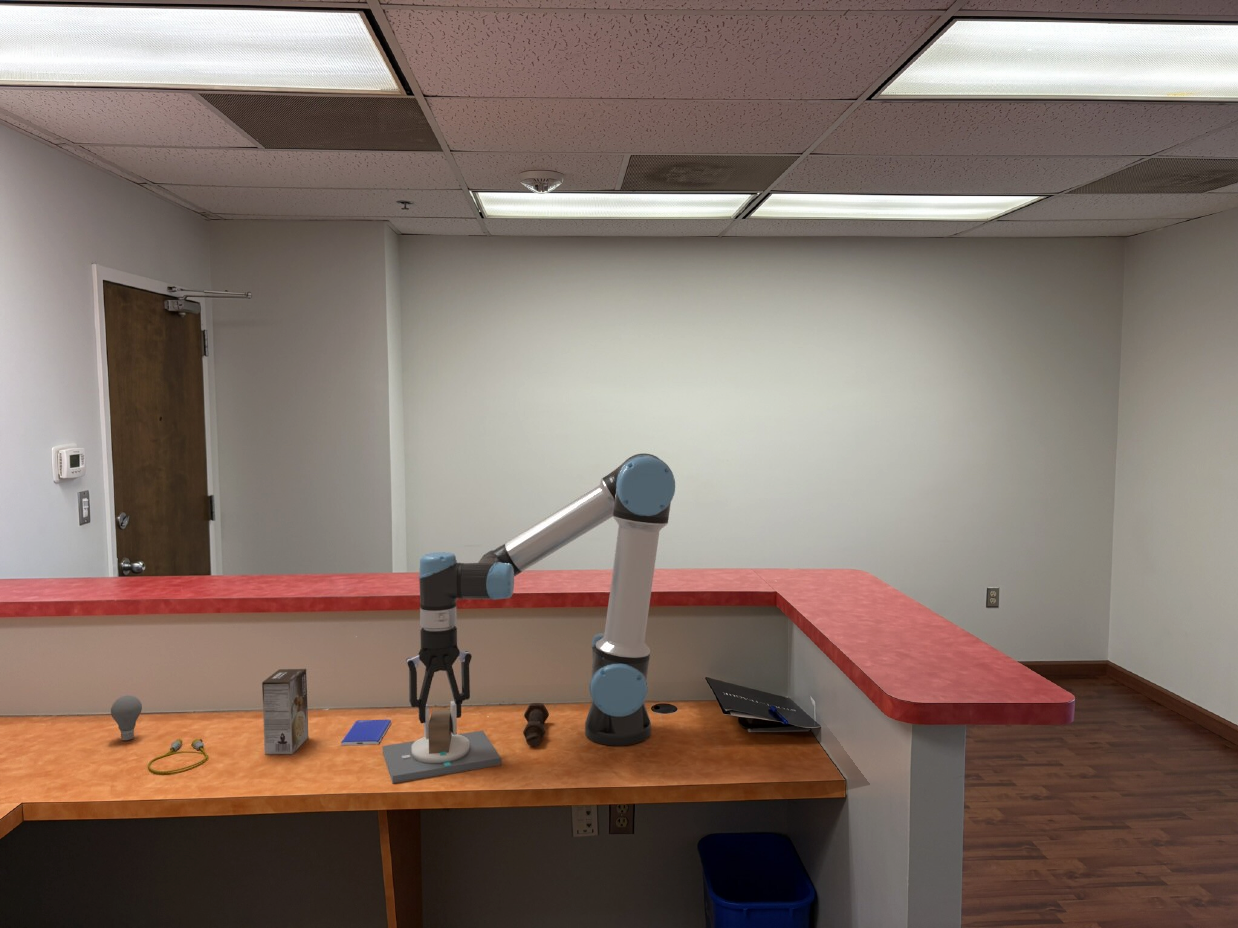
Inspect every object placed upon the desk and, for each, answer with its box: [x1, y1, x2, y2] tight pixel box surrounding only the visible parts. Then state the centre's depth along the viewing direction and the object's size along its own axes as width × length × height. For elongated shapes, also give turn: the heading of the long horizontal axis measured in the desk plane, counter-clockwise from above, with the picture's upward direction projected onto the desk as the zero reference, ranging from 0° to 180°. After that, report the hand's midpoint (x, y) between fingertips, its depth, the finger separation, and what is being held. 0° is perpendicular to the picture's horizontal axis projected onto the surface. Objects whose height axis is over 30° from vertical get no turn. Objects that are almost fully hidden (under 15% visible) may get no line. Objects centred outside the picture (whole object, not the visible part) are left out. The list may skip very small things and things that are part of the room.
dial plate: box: [382, 730, 502, 784], centre depth 173 cm, size 22×16×2 cm
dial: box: [412, 708, 469, 763], centre depth 173 cm, size 12×12×8 cm
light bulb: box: [110, 694, 143, 741], centre depth 184 cm, size 6×6×10 cm
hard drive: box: [340, 718, 392, 746], centre depth 187 cm, size 2×8×12 cm
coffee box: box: [261, 668, 309, 755], centre depth 180 cm, size 9×6×16 cm
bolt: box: [522, 702, 550, 747], centre depth 186 cm, size 6×5×15 cm
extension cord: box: [147, 738, 210, 775], centre depth 174 cm, size 12×16×2 cm
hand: (440, 734), depth 173 cm, fingers closed on dial, 5 cm apart
